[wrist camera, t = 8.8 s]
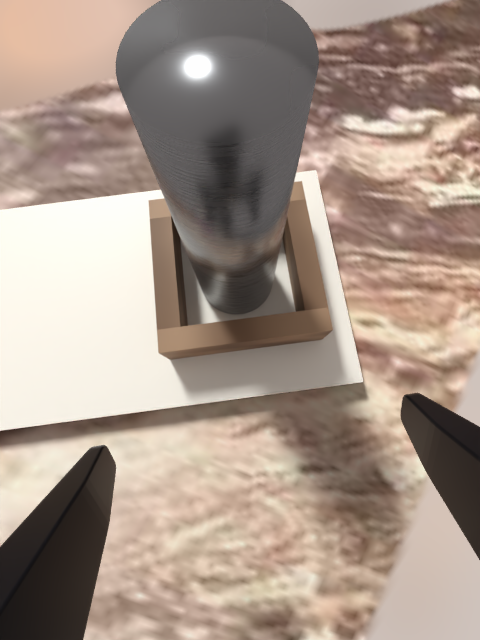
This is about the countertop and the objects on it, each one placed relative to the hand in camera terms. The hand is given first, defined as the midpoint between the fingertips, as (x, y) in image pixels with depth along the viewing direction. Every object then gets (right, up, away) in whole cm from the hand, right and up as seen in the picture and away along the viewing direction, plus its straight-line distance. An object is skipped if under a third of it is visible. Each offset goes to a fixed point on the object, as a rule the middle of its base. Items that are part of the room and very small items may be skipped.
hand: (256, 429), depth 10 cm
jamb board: (-6, +5, +11) cm, 13 cm away
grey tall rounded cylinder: (-1, +6, +10) cm, 12 cm away
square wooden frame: (-1, +6, +10) cm, 12 cm away
